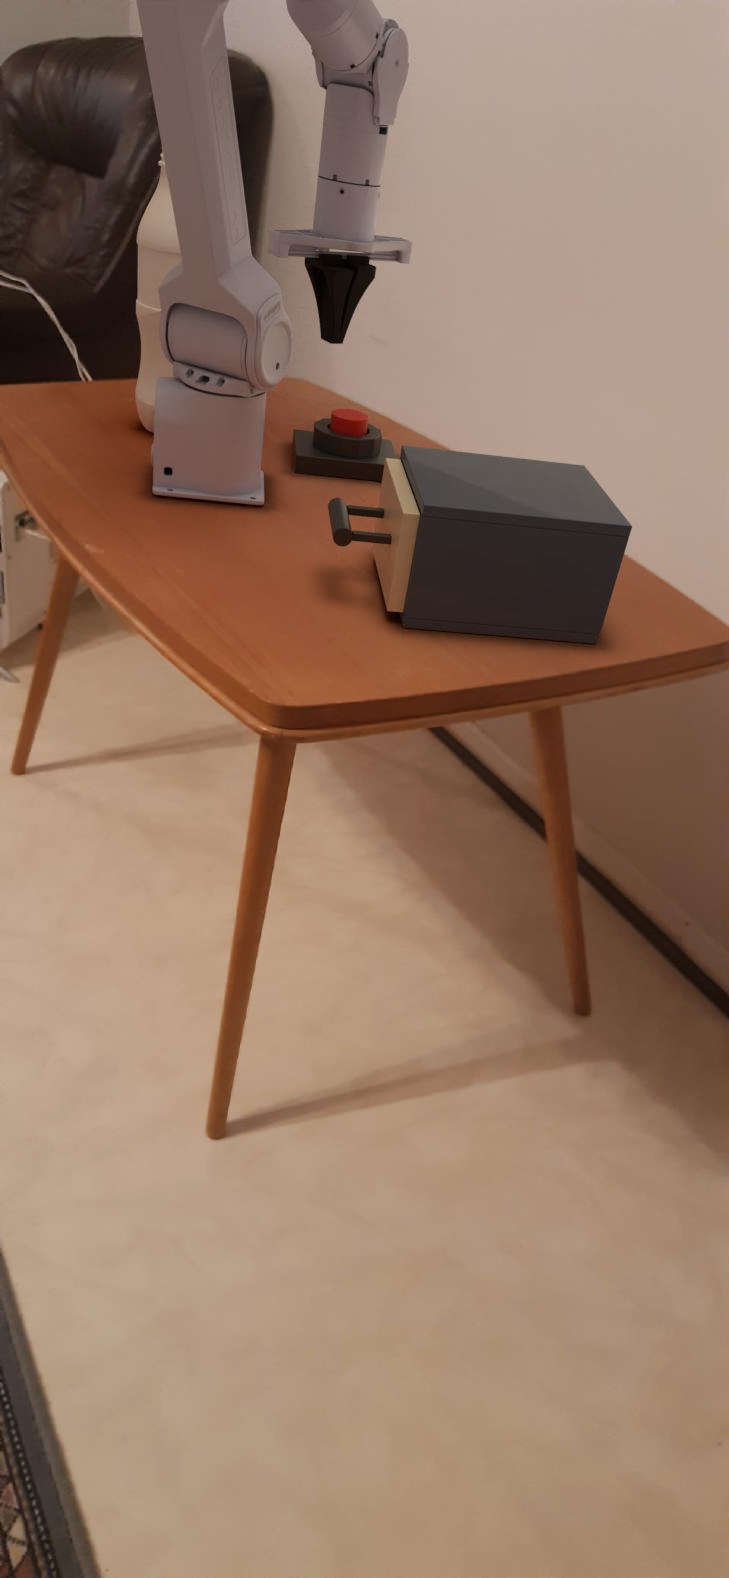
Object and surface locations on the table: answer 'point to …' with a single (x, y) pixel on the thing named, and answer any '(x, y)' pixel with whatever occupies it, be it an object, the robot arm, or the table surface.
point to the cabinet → (511, 546)
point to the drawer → (385, 531)
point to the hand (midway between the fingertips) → (331, 341)
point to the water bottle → (154, 292)
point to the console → (341, 452)
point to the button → (349, 422)
